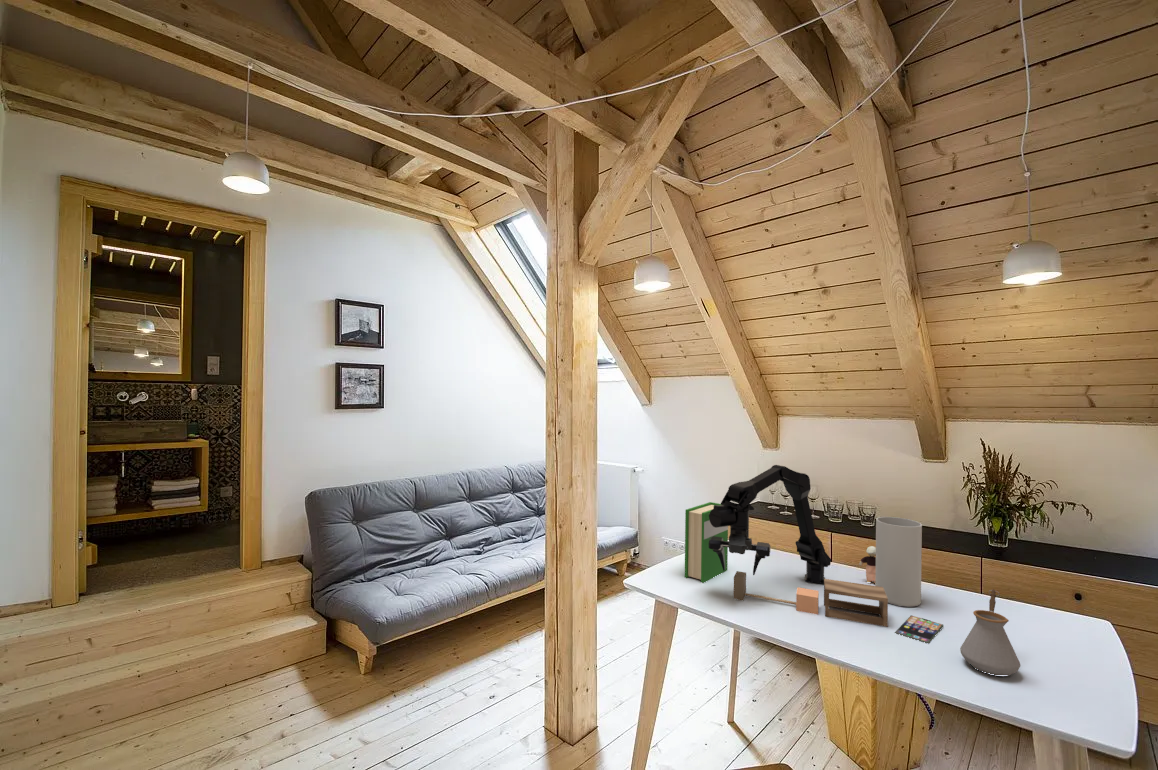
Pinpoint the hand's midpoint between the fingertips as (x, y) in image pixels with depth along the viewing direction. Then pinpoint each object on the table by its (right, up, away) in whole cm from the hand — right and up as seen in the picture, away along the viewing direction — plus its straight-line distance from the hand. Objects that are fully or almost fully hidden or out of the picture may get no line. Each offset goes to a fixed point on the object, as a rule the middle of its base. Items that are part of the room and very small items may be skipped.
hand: (738, 572), depth 168 cm
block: (+10, -8, -5) cm, 14 cm away
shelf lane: (+30, -8, -13) cm, 34 cm away
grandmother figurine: (+50, -9, +13) cm, 53 cm away
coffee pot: (+51, -8, -38) cm, 64 cm away
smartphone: (+44, -9, -22) cm, 50 cm away
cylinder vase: (+51, -9, -1) cm, 51 cm away
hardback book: (-6, -8, +20) cm, 22 cm away
